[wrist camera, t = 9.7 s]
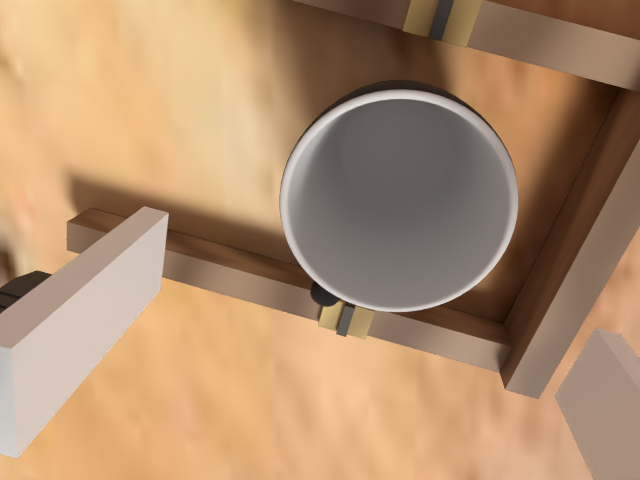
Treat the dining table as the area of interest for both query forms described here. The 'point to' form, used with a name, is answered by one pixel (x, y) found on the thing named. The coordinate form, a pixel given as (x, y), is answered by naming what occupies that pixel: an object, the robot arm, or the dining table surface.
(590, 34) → the frame
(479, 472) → the dining table surface
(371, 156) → the mug
